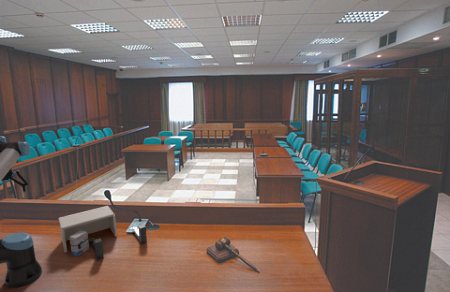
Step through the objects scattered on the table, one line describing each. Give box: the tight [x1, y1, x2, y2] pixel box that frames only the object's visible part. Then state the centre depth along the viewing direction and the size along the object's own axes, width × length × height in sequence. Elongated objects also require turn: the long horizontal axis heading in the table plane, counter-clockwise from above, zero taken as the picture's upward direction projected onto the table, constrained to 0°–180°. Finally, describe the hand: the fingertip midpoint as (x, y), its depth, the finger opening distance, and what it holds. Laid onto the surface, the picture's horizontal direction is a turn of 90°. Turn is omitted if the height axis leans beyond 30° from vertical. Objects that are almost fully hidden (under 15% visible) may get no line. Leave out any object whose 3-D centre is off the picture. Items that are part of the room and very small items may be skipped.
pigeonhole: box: [58, 205, 118, 253], centre depth 168 cm, size 17×30×16 cm, turn 127°
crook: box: [88, 237, 105, 261], centre depth 153 cm, size 22×12×11 cm, turn 36°
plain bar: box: [131, 224, 148, 245], centre depth 170 cm, size 20×4×11 cm, turn 37°
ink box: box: [69, 230, 90, 257], centre depth 154 cm, size 8×5×12 cm, turn 159°
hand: (8, 200), depth 146 cm, fingers open, 13 cm apart
